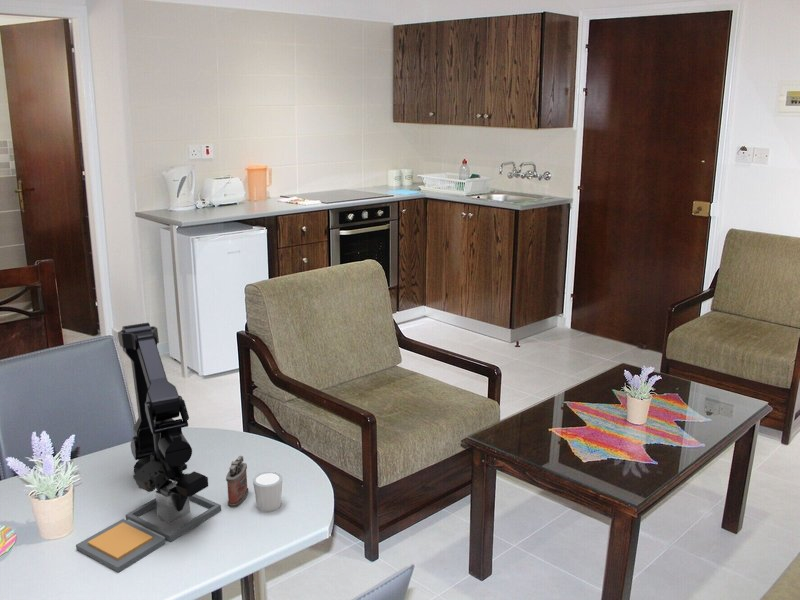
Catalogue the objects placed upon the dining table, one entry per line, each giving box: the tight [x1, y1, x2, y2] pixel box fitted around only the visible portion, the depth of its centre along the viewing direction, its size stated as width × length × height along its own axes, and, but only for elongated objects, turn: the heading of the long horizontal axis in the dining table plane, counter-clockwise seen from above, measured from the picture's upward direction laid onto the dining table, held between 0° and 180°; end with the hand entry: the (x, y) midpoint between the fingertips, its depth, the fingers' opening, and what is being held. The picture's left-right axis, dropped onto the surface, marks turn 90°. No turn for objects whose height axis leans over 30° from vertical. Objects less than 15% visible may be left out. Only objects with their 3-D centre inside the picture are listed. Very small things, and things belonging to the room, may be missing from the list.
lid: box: [75, 518, 166, 573], centre depth 164 cm, size 14×13×2 cm
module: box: [154, 481, 191, 525], centre depth 175 cm, size 4×6×8 cm, turn 147°
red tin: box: [225, 455, 249, 509], centre depth 182 cm, size 8×3×10 cm, turn 168°
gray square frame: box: [124, 493, 222, 543], centre depth 176 cm, size 15×15×2 cm
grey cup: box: [252, 471, 283, 513], centre depth 179 cm, size 7×7×7 cm
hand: (173, 507), depth 175 cm, fingers closed on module, 4 cm apart
